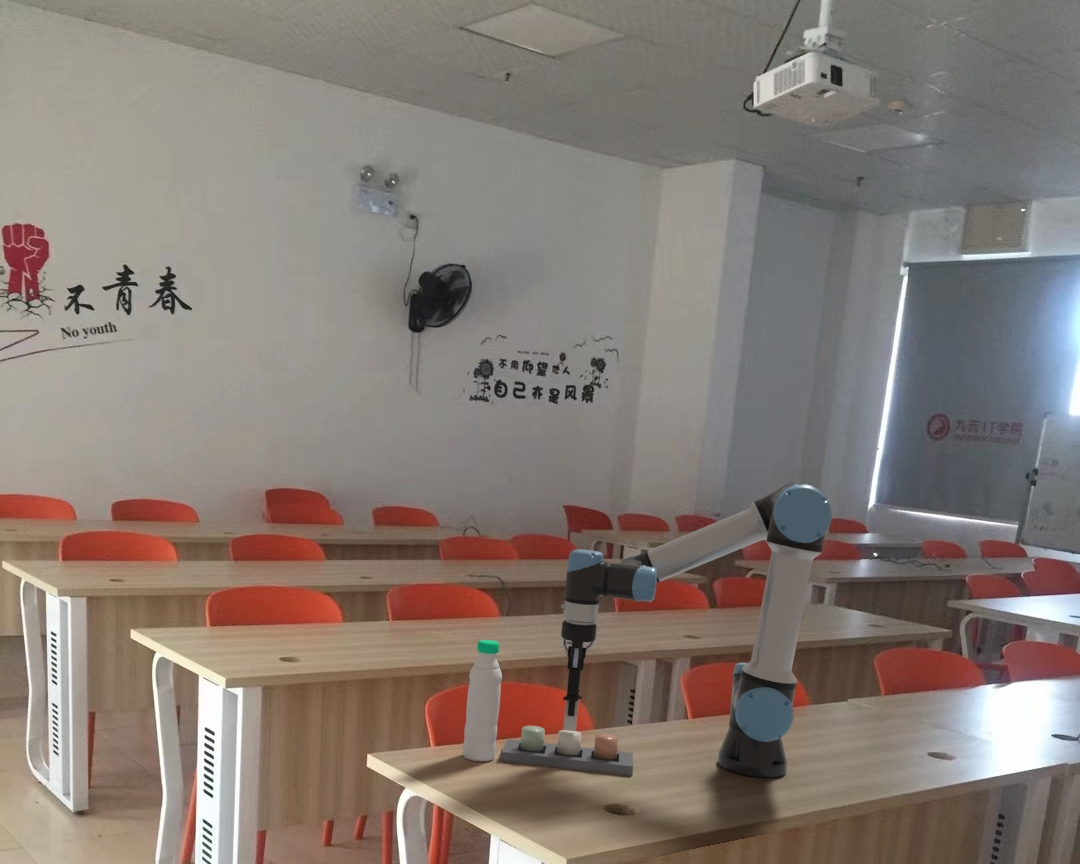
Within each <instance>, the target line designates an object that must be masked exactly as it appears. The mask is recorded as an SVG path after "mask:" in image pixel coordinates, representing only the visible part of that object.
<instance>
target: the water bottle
mask: <svg viewBox="0 0 1080 864" xmlns="http://www.w3.org/2000/svg"><path fill="white" fill-rule="evenodd" d="M476 651H477V652H476V653H477V654H478V657H477V659H476V660H475V662H474V664H473V666H472V668H471V670H470V671H469V675H468V676H469V683H468V684H469V685H468V690H467V698H466V699H467V700H466V710H465V711H466V712H465V714H466V716H465V719H466V721H465V725H464V732H463V733H464V735H463V736H464V740H463V745H462V756H463V757H464V758H465V759H467V760H469V761H472V762H478V761H479V762H484V761H485V762H490V761H492V760H493V759H495V756H496V752H497V751H496V750H497V743H496V740H497V738H498V721H499V714H500V705H501V686H502V685H501V682H502V678H503V673H502V670H501V668H500V664H499V661H498V659H497V656H498V654H499V652H500V643H499V642H498V641H496V640H491V639H482V640H481V639H480V640H478V642H477V646H476ZM485 762H484V763H485Z"/></svg>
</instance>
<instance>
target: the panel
mask: <svg viewBox="0 0 1080 864" xmlns="http://www.w3.org/2000/svg"><path fill="white" fill-rule="evenodd" d="M557 745H558V743H548V742H544V747H543V750H540V751H529V750H525V749H522V748H521V747H520V746H521V739H511V738H506V740H505V742H504V746H503V748H502V752H501V757H500V761H501V762H503V761H505V762H504V763H512V762H513V763H514V764H521V765H532V766H540V767H541V766H542V767H548V768H550V767H551V768H558V769H559V768H560V769H566V770H576V771H584V772H585V771H586V772H594V773H595V772H596V773H604V774H610V775H620V776H622V775H623V776H627V777H630V776H631V777H632V776H633V772H634V770H633V769H634V757H633V756H634V755H633V752H629V751H621V750H617V757H616V758H615V759H602V758H598V757H596V756H594V747H583V746H580V753H579V754H577V755H566V754H562V753H559V752H558V751H557Z"/></svg>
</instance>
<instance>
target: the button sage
mask: <svg viewBox="0 0 1080 864" xmlns="http://www.w3.org/2000/svg"><path fill="white" fill-rule="evenodd" d="M545 731H546V730H545V728H543V727H541V726H538V725H525V726H522V728H521V735H520V737H521V738H520V740H521V746H520V747H521V748H522V749H525V750H529V751H540V750H543V747H544V743H545V734H546V733H545Z"/></svg>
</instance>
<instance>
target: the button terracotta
mask: <svg viewBox="0 0 1080 864" xmlns="http://www.w3.org/2000/svg"><path fill="white" fill-rule="evenodd" d="M618 745H619V737H618V736H617V735H614V734H609V733H597V734H595V737H594V745H593V746H594V747H593V748H594V756H596V757H598V758H602V759H615V758H616V757H617V751H618V750H619V749H618V747H619V746H618Z"/></svg>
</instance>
